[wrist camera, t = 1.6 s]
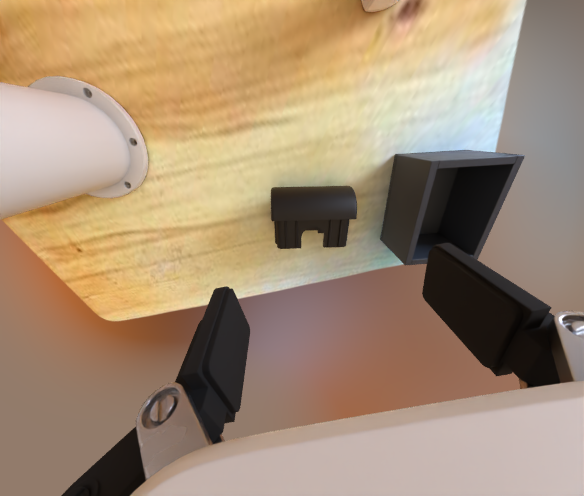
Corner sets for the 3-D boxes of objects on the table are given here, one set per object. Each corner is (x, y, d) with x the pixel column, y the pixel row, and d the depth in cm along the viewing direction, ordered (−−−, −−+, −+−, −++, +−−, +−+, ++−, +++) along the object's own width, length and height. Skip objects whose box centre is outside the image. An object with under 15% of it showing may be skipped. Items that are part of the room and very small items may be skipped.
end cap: (344, 180, 29) (360, 192, 23) (339, 227, 32) (352, 249, 26) (272, 181, 28) (269, 194, 22) (274, 229, 32) (273, 251, 26)
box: (380, 239, 33) (404, 265, 27) (395, 154, 27) (432, 160, 21) (438, 235, 34) (477, 260, 27) (466, 149, 27) (525, 155, 21)
